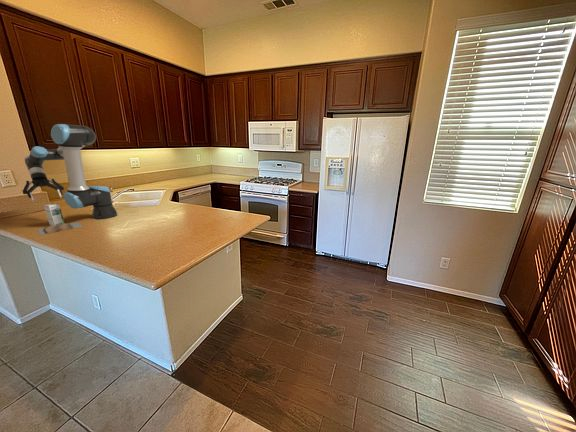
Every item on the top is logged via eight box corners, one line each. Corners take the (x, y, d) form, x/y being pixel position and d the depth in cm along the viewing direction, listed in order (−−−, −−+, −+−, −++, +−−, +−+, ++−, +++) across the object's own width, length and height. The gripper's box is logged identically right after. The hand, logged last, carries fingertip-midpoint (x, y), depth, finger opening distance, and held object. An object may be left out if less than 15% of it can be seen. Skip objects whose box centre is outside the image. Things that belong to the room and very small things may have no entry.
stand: (69, 224, 160) (68, 222, 160) (73, 228, 153) (72, 226, 153) (44, 229, 151) (43, 227, 151) (47, 233, 144) (46, 231, 144)
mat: (77, 222, 166) (77, 222, 166) (82, 227, 157) (82, 226, 157) (37, 230, 151) (37, 229, 151) (40, 235, 142) (40, 234, 142)
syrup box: (55, 226, 157) (48, 205, 153) (49, 225, 159) (43, 204, 155) (65, 224, 162) (59, 203, 158) (59, 223, 164) (54, 202, 160)
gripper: (62, 177, 178) (71, 199, 173) (12, 180, 159) (21, 205, 155) (61, 170, 173) (71, 193, 169) (10, 173, 155) (20, 199, 150)
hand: (47, 199), depth 162 cm, fingers open, 13 cm apart
